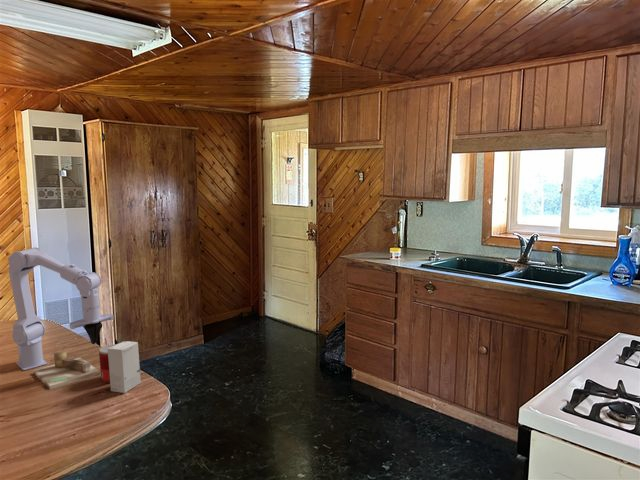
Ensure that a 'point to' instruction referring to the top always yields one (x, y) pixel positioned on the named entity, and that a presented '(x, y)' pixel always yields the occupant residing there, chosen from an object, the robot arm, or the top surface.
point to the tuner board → (63, 374)
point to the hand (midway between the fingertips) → (94, 343)
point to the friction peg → (70, 362)
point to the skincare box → (124, 366)
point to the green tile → (58, 379)
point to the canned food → (104, 363)
